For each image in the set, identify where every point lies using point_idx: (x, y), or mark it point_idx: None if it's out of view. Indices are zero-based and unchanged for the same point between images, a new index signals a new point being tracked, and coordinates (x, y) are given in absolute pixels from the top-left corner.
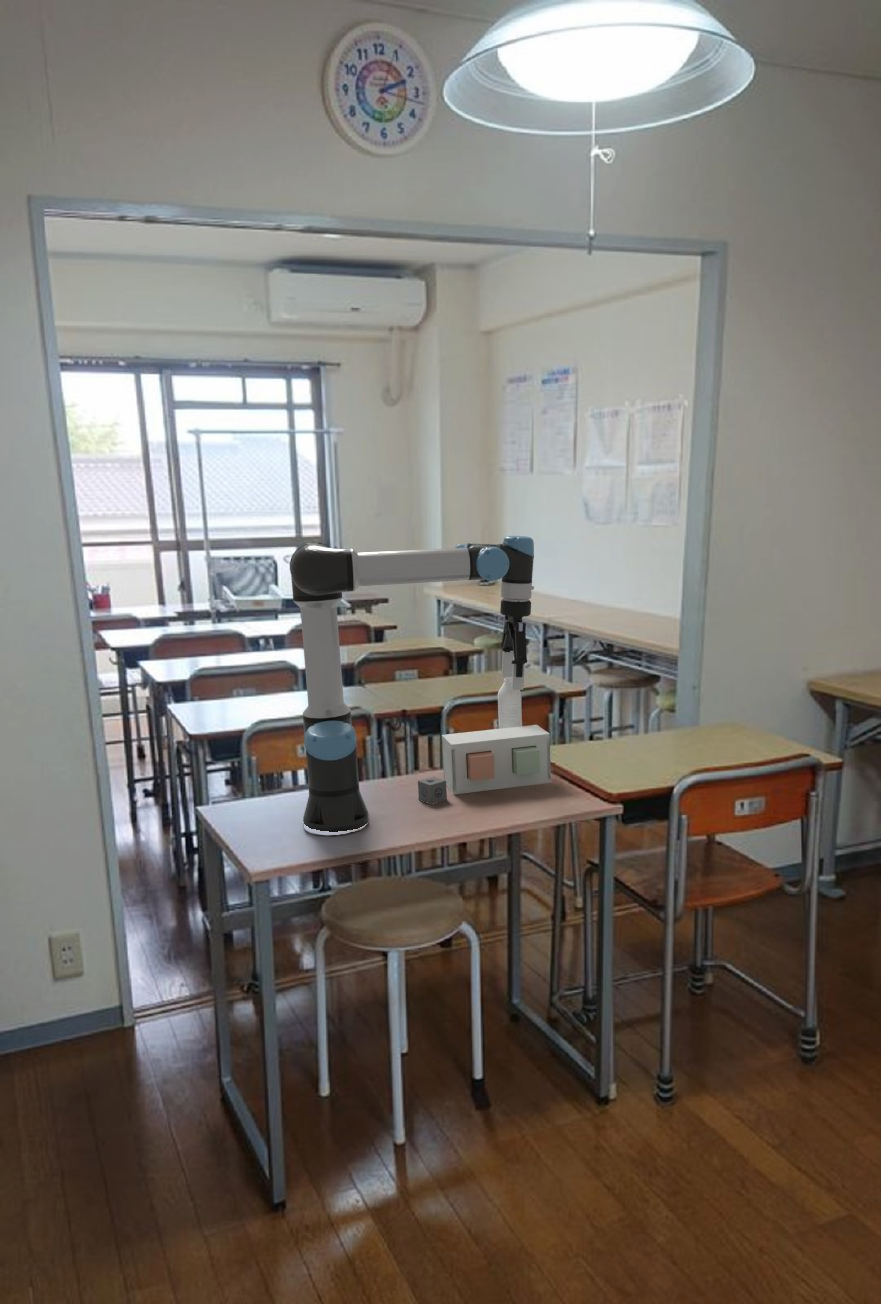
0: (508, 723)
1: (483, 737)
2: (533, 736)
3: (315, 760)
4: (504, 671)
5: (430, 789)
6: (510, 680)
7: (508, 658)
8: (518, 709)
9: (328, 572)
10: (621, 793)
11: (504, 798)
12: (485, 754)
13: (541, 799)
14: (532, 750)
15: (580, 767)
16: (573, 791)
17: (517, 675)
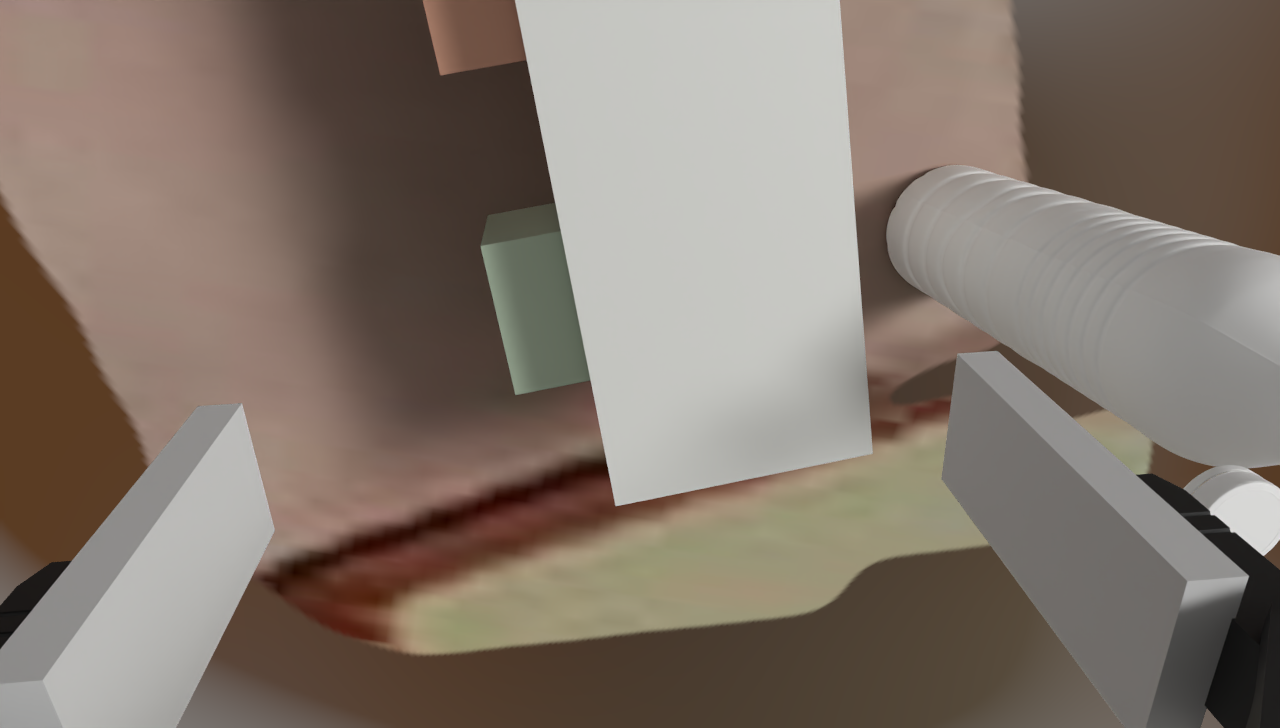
0: (1019, 273)
1: (627, 20)
2: (594, 398)
3: None
4: (989, 419)
5: None
6: None
7: (1088, 592)
8: (1080, 384)
9: None
10: (383, 642)
11: (370, 108)
12: (463, 14)
13: (334, 298)
14: (506, 353)
15: (791, 539)
16: (439, 460)
17: (21, 595)
